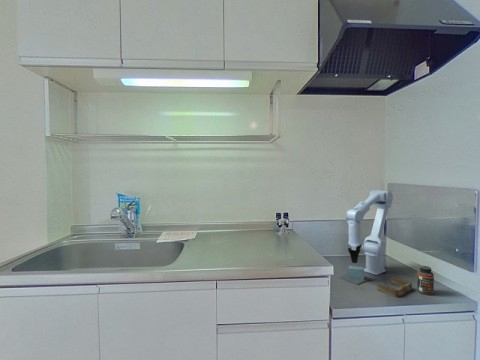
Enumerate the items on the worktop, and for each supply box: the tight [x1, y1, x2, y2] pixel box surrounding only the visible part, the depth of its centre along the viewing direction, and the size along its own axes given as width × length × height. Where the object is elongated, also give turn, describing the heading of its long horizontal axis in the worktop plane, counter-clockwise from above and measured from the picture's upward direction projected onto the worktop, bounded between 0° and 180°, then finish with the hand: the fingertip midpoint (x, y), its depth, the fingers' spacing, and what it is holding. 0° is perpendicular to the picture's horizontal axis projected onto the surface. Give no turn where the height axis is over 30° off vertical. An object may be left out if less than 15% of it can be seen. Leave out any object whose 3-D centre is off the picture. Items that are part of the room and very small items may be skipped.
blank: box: [347, 265, 365, 280], centre depth 134 cm, size 4×7×5 cm, turn 63°
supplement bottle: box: [416, 265, 435, 296], centre depth 118 cm, size 6×6×11 cm
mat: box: [339, 273, 372, 286], centre depth 135 cm, size 11×10×1 cm
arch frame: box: [376, 276, 413, 298], centre depth 121 cm, size 13×9×3 cm
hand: (355, 260), depth 134 cm, fingers open, 7 cm apart
